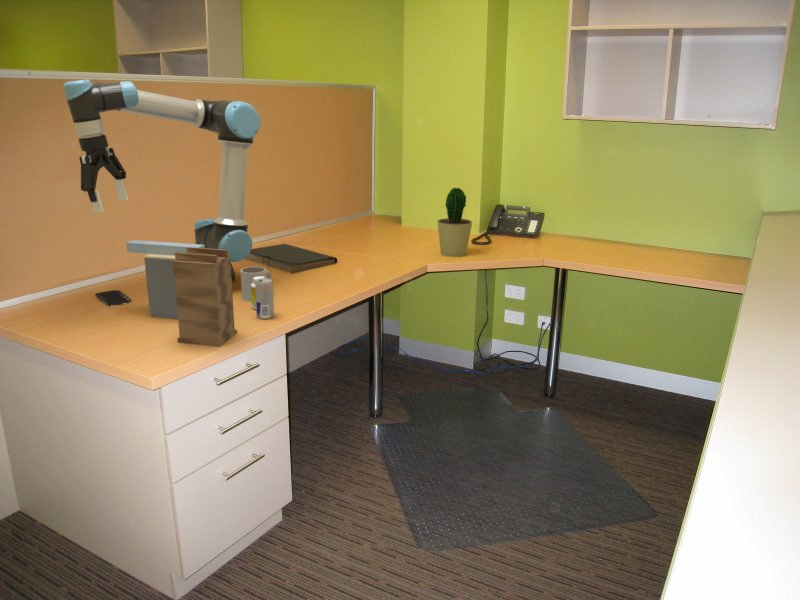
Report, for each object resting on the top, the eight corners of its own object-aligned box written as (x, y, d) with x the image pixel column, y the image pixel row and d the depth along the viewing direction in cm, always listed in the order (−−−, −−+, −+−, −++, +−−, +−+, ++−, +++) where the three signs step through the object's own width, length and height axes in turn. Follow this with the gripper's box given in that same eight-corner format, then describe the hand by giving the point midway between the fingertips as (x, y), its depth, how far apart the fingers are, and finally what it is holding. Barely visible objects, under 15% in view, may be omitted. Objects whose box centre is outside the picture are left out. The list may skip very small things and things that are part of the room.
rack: (196, 329, 194) (189, 245, 186) (237, 332, 192) (232, 248, 184) (177, 342, 184) (169, 254, 176) (220, 346, 182) (214, 257, 174)
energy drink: (261, 313, 209) (260, 277, 205) (277, 315, 208) (275, 278, 204) (253, 318, 204) (251, 281, 201) (269, 320, 203) (267, 283, 199)
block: (167, 306, 213) (161, 248, 207) (201, 309, 211) (196, 251, 205) (150, 316, 204) (144, 256, 198) (185, 319, 202) (180, 258, 196)
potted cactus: (438, 258, 283) (441, 188, 274) (433, 249, 298) (436, 183, 288) (473, 258, 284) (477, 189, 275) (467, 249, 299) (470, 184, 290)
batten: (134, 249, 206) (133, 239, 205) (205, 254, 201) (204, 244, 200) (127, 252, 202) (126, 242, 201) (199, 257, 198) (198, 247, 197)
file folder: (241, 250, 274) (287, 242, 291) (242, 259, 275) (287, 251, 293) (291, 264, 253) (337, 255, 270) (291, 275, 254) (337, 265, 271)
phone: (118, 289, 227) (132, 300, 216) (118, 292, 228) (132, 303, 217) (94, 293, 222) (107, 304, 212) (94, 296, 223) (108, 307, 212)
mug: (250, 303, 218) (249, 274, 215) (237, 297, 224) (235, 269, 221) (281, 296, 227) (280, 268, 224) (267, 290, 233) (266, 263, 229)
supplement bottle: (260, 311, 211) (258, 281, 208) (248, 308, 214) (246, 278, 211) (272, 307, 215) (271, 277, 212) (261, 304, 218) (259, 274, 215)
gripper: (104, 130, 203) (123, 196, 211) (53, 144, 180) (76, 218, 189) (126, 127, 202) (144, 194, 210) (77, 142, 179) (99, 216, 187)
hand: (112, 206), depth 199 cm, fingers open, 13 cm apart
